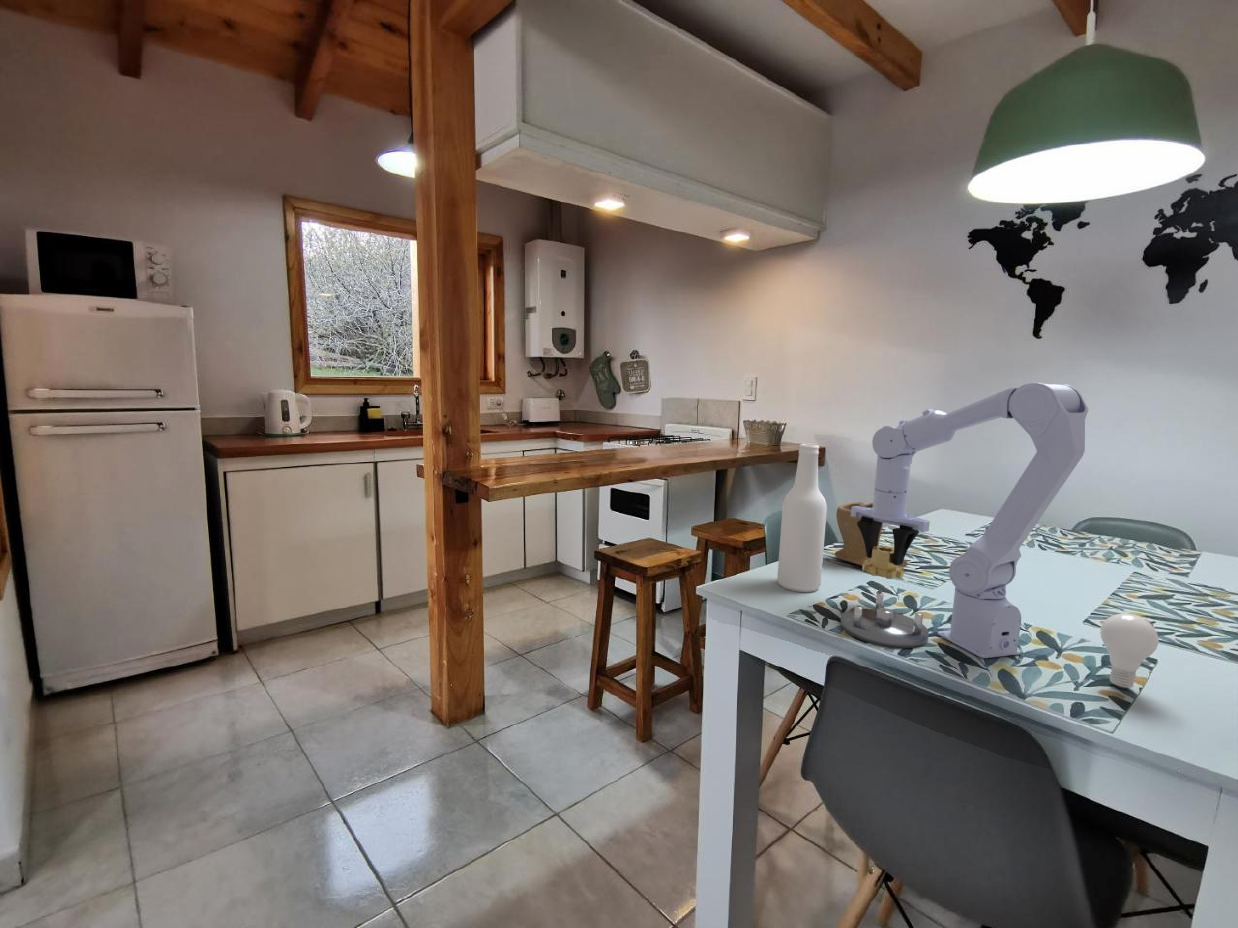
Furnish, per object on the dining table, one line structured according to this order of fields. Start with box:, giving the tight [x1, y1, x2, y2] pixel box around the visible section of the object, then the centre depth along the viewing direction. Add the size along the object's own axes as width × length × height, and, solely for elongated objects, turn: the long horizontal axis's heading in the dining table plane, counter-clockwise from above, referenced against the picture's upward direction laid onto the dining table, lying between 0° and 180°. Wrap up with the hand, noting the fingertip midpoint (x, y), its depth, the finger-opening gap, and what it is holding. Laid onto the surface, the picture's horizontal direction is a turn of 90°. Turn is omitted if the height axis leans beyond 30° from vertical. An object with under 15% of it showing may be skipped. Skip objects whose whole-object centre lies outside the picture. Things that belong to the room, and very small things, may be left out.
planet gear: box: [861, 545, 905, 580], centre depth 114 cm, size 7×7×4 cm
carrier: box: [840, 592, 929, 649], centre depth 105 cm, size 14×14×5 cm
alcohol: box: [776, 443, 828, 593], centre depth 125 cm, size 9×9×30 cm
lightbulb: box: [1100, 612, 1159, 690], centre depth 86 cm, size 6×6×11 cm
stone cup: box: [834, 501, 909, 569], centre depth 142 cm, size 15×12×15 cm
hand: (884, 560), depth 114 cm, fingers closed on planet gear, 5 cm apart
